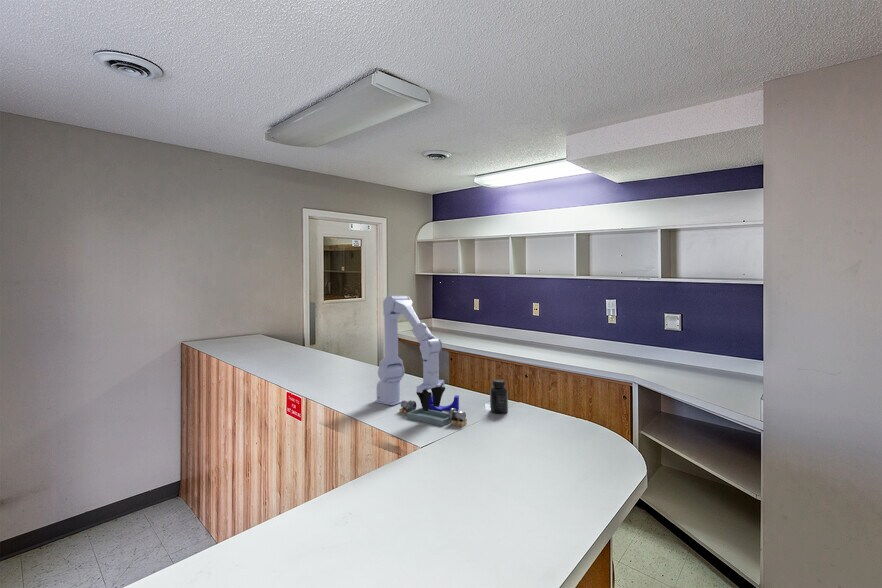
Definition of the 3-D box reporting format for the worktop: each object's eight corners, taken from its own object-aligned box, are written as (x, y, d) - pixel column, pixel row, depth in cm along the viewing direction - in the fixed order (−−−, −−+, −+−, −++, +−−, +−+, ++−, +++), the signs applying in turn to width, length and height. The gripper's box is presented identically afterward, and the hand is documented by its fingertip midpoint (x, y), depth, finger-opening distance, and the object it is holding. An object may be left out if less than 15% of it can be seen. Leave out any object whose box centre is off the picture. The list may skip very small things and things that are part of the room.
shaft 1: (416, 413, 158) (416, 399, 158) (407, 416, 155) (407, 401, 155) (407, 411, 161) (407, 397, 161) (399, 413, 158) (399, 399, 158)
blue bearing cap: (426, 412, 160) (426, 397, 160) (429, 409, 164) (429, 394, 164) (457, 414, 158) (457, 398, 158) (458, 410, 162) (458, 395, 162)
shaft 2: (448, 425, 144) (448, 409, 144) (454, 421, 148) (453, 406, 148) (461, 427, 142) (461, 411, 142) (466, 423, 146) (466, 408, 146)
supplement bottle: (509, 409, 163) (509, 379, 162) (506, 414, 156) (506, 383, 156) (492, 408, 165) (492, 378, 165) (488, 413, 158) (488, 381, 158)
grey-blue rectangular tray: (406, 418, 152) (406, 412, 152) (420, 412, 159) (420, 407, 159) (442, 426, 143) (442, 420, 143) (455, 420, 150) (455, 414, 150)
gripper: (427, 375, 143) (427, 415, 143) (451, 369, 155) (451, 405, 155) (411, 373, 147) (412, 411, 147) (435, 367, 159) (436, 402, 159)
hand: (431, 408), depth 151 cm, fingers open, 6 cm apart
